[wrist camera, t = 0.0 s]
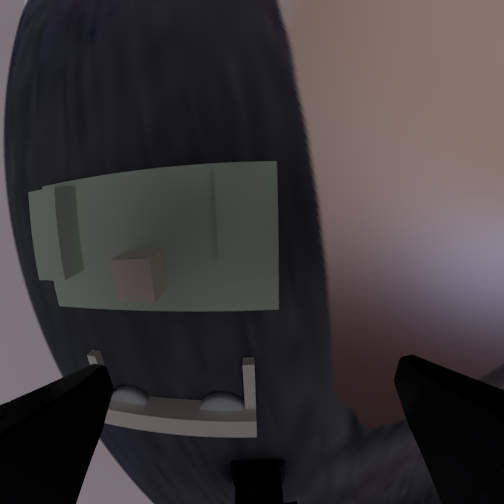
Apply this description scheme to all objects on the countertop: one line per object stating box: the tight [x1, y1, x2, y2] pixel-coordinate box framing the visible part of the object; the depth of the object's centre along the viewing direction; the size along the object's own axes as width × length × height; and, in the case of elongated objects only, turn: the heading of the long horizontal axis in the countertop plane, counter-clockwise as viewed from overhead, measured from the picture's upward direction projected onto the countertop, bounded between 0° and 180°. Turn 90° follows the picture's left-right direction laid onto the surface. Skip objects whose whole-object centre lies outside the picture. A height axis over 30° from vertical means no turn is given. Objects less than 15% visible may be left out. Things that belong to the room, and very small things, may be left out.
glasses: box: [87, 349, 257, 437], centre depth 23 cm, size 9×16×3 cm, turn 92°
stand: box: [29, 161, 279, 311], centre depth 19 cm, size 11×20×4 cm, turn 92°
